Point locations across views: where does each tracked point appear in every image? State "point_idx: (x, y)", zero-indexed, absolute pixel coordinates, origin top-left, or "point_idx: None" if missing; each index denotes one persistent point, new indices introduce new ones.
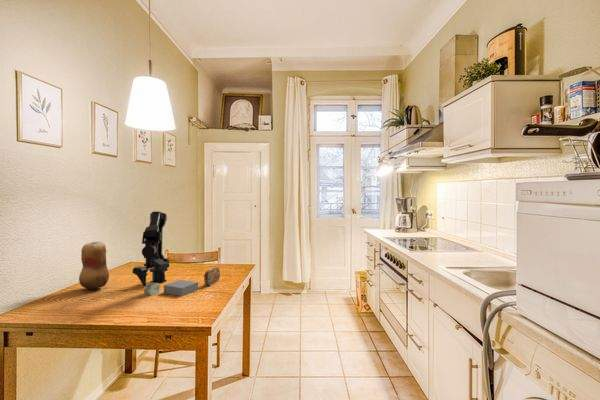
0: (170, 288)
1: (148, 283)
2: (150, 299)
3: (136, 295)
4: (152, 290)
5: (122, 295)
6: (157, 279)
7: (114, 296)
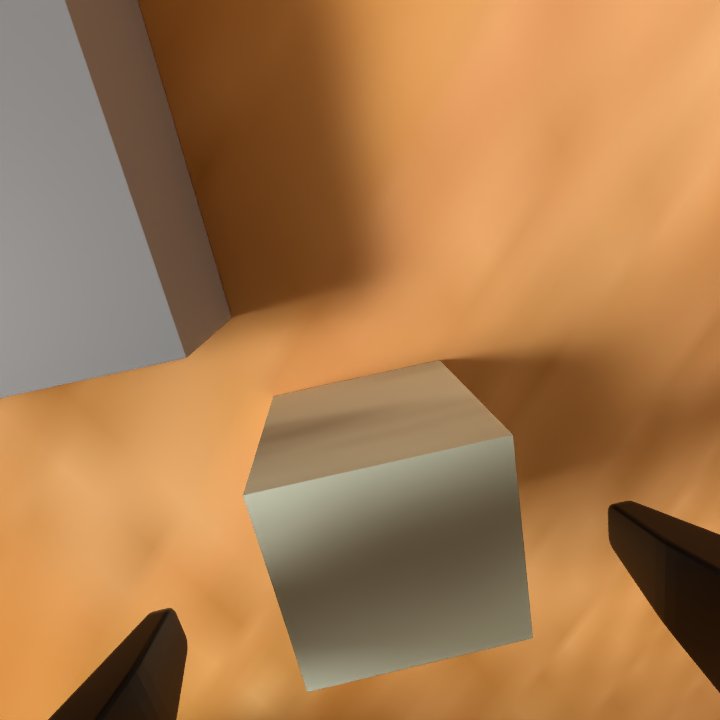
0: (124, 96)
1: (421, 653)
2: (587, 168)
3: (551, 525)
4: (440, 394)
5: (631, 640)
6: (172, 717)
7: (695, 664)
